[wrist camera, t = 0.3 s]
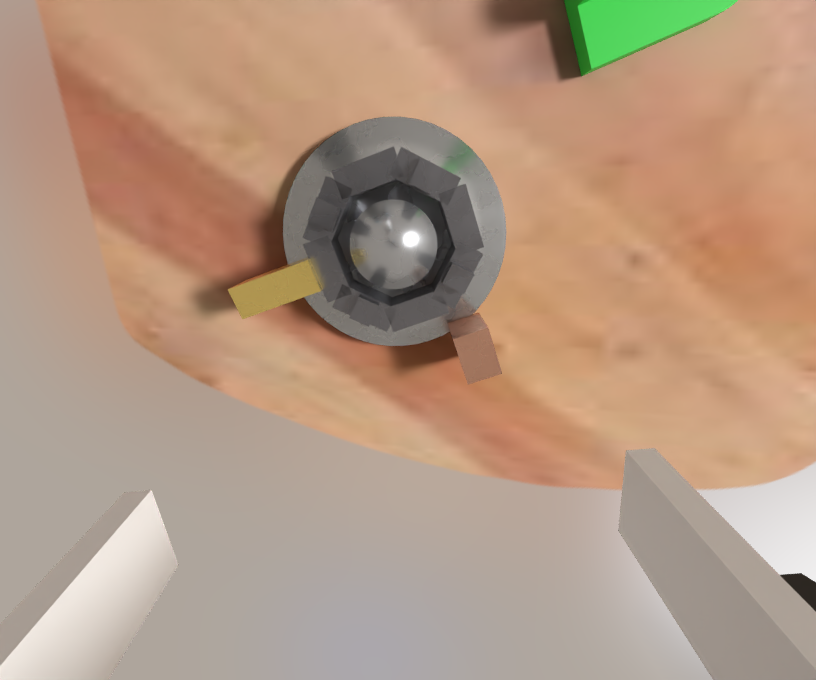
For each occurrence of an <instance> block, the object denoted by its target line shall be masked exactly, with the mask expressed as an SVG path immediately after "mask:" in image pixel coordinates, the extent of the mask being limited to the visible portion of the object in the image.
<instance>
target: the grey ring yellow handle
mask: <svg viewBox="0 0 816 680" xmlns="http://www.w3.org/2000/svg"><path fill="white" fill-rule="evenodd" d="M331 172H332V174H333V177H334V178H331V177H328V176H326V177H325V180H324V183H323V185H322V188H321V190H320V193H319V196H318V197H316V200H315V202H314V205H313V208H312V210H311V213H310V215H309V218H308V220H309V222H308V224H307V227H306V229H305V232H304V235H303V237H302V238H304V239H306V240H309V241H310V242H307V243H305V244H303V247H304V249H305V251H306V254H307V256H308V257H307V258H304V259H302V260H299V261H296V262H293V263H291V264H288V265H285V266H283V267H280V268H277V269H274V270H272V271H269V272H266V273H264V274H261V275H258V276H256V277H253V278H250V279H247V280H245V281H243V282H241V283H239V284H238V285H236V286H234V287H232V288H230V289H228V292H229V293H230V295H231V297H232V299H233V301H234V303H235V305H236V307H237V309H238V311H239V313H240V315H241V317H242V319H245V318H247V317H250V316H253V315H256V314H259V313H261V312H264V311H267V310H270V309H272V308H275V307H278V306H281V305H284V304H286V303H289V302H292V301H295V300H298V299H300V298H303V297H306V296H309V295H311V294H314V293H317V292H320V291H321V290H322V291H323V293H324V296H325V298H326V300H327V303H328V302H331V301H334V300H335V302H334V304H333V307H332V308H334V309H337V310H339V311H341V312H343V313H346V314H348V315H350V317H349V318H350V319H352V320H355V321H357V322H359V323H361V324H364V325H366V326H368V327H369V325H372V326H375V327H377V328H379V329H381V330H384V331H386V332H387V331H388V329H389V327H390V325H391V328H392V330H393V332H396V331H399V330H401V329H404V328H407V327H410V326H413V325H416V324H419V323H422V322H425V321H428V320H431V319H434V318H437V317H440V316H443V315H446V314H448V313H449V310H448V307H447V306H449V307H451V308H453V309H455V307H456V305H457V303H458V301H459V299H460V298H461V296H462V294H464V293H465V291H466V290H467V288H468V286H469V284H470V282H471V280H472V278H473V276H474V271H475V269H476V267H477V265H478V263H479V261H480V260H481V258H482V256H483V253H481V252H480V251H478V250H477V249H480V248H483V247H484V245H483V242H482V238H481V235H480V231H479V228H478V224H477V221H476V217H475V214H474V210H473V207H472V204H471V200H470V197H469V193H468V190H467V186H466V184H463V185H459V186H458V184H459V182H460V179H461V178H460V177H458V176H457V175H455V174H453V173H451V172H449V171H447V170H445V169H443V168H441V167H439V166H437V165H435V164H434V163H432V162H430V161H428V160H426V159H424V158H422V157H420V156H418V155H416V154H414V153H412V152H411V151H409V150H407V149H405V148H403V147H401V148H400V151H399V153H398V155H397V154H396V151H395V148H394V146H393V147H391V148H388V149H386V150H383V151H380V152H378V153H375V154H373V155H370V156H368V157H365V158H363V159H360V160H357V161H355V162H352V163H350V164H347V165H345V166H342V167H339V168H337V169H334V170H332V171H331ZM396 181H398V182H400V183H402V184H404V185H406V186H408V187H410V188H412V189H414V190H416V191H418V192H420V193H422V194H424V195H426V196H428V197H430V198H432V199H434V200H436V201H438V204H439V207H440V211H441V214H442V217H443V220H444V223H445V227H446V230H447V233H448V236H449V239H450V242H451V246H450V248H449V250H448V252H447V254H446V256H445V258H444V260H443V262H442V264H441V266H440V268H439V270H438V272H437V274H436V276H435V278H434V280H433V282H432V283H431V284H428V285H425V286H423V287H420V288H417V289H414V290H411V291H408V292H406V293H403V294H400V295H397V296H394V297H391V296H389V295H387V294H385V293H382V292H380V291H378V290H376V289H374V288H372V287H369V286H367V285H365V284H363V283H361V282H359V281H357V280H354V278H353V275H352V273H351V270H350V268H349V265H348V263H347V260H346V258H345V255H344V253H343V250H342V248H341V245H340V243H339V240H338V237H339V235H340V232H341V230H342V227H343V225H344V222H345V220H346V218H347V215H348V213H349V210H350V208H351V205H352V203H353V201H354V198H355V197H356V196H359V195H362V194H364V193H367V192H370V191H372V190H375V189H377V188H380V187H383V186H385V185H388V184H391V183H393V182H396Z"/></svg>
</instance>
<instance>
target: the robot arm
mask: <svg viewBox="0 0 816 680" xmlns="http://www.w3.org/2000/svg"><path fill="white" fill-rule="evenodd" d="M618 531H619V532H620V534H621V536H622V537H623V539H624V540H625V542H626V543H627V545H628V547H629V548H630V550H631V551H632V553H633V554H634V556H635V558H636V559H637V561H638V562H639V564H640V565H641V567H642V568H643V570H644V572H645V573H646V575H647V576H648V578H649V580H650V581H651V582H652V584H653V586H654V587H655V589H656V591H657V592H658V594H659V595H660V597H661V598H662V600H663V602H664V603H665V605H666V606H667V608H668V609H669V611H670V612H671V614H672V615H673V617H674V619H675V620H676V622H677V624H678V625H679V627H680V628H681V630H682V631H683V633H684V634H685V636H686V638H687V639H688V641H689V642H690V644H691V645H692V647H693V649H694V650H695V652H696V653H697V655H698V656H699V658H700V660H701V661H702V663H703V664H704V666H705V668H706V669H707V671H708V672H709V674H710V675H711V677H712V679H713V680H816V582H814V581H813V580H811V579H809V578H808V577H806V576H805V575H803V574H802V573H799V574H785V575H779V574H778V573H777V572H776V571H775V570H774V569H773V568H772V567H771V566H770V565H769V564H768V563H767V562H766V561H765V560H764V559H763V558H762V557H761V556H760V555H759V554H758V553H757V552H756V551H755V550H754V549H753V548H752V547H751V546H750V545H749V544H748V543H747V542H746V541H745V539H743V537H741V535H739V533H738V532H737V531H735V530H734V528H732V526H731V525H729V523H728V522H727V521H726V520H725V519H724V518H723V517H722V516H721V515H720V514H719V513H718V512H717V511H716V510H715V509H714V508H713V507H712V506H711V505H710V504H709V503H708V502H707V501H706V500H705V499H704V498H703V497H702V496H701V495H700V494H699V493H698V492H697V491H696V490H695V489H694V488H693V487H692V486H691V485H690V484H689V483H688V482H687V481H686V480H685V479H684V478H683V477H682V476H681V475H680V474H679V473H678V472H677V471H676V470H675V469H674V468H673V466H672V465H671V464H670V463H669V462H668V461H667V460H666V459H665V458H664V457H663V456H662V455H661V454H660V453H659V452H658V451H657V450H656V449H655V448H651V449H639V450H627V451H626V456H625V466H624V477H623V487H622V497H621V509H620V519H619V530H618ZM177 567H178V562H177V559H176V556H175V554H174V551H173V548H172V545H171V543H170V540H169V537H168V535H167V532H166V529H165V526H164V523H163V521H162V518H161V515H160V512H159V510H158V507H157V504H156V501H155V499H154V496H153V493H152V490H145V491H134V492H124V493H123V494H122V495H121V496H120V497H119V499H118V500H117V501H116V502H115V503H114V504H113V505H112V506H111V507H110V508H109V509H108V510H107V511H106V512H105V513H104V515H102V517H101V518H100V519H99V520H98V521H97V522H96V523H95V524H94V525H93V526H92V527H91V528H90V529H89V530H88V531H87V532H86V534H85V535H84V536H83V537H82V538H81V539H80V540H79V541H78V542H77V543H76V544H75V545H74V546H73V547H72V548H71V549H70V551H69V552H68V553H67V554H66V555H65V556H64V557H63V558H62V559H61V560H60V561H59V562H58V563H57V564H56V565H55V566H54V568H52V570H51V571H50V572H49V573H48V574H47V575H46V576H45V577H44V578H43V579H42V580H41V581H40V582H39V583H38V585H36V586H35V588H34V589H33V590H32V591H31V592H30V593H29V594H28V595H27V596H26V597H25V598H24V599H23V600H22V601H21V602H20V603H19V604H18V606H17V607H16V608H15V609H14V610H13V611H12V612H11V613H10V614H9V615H8V616H7V617H6V618H5V619H4V620H3V621H2V622H1V624H0V680H109V678H110V677H111V675H112V673H113V672H114V670H115V668H116V667H117V665H118V663H119V662H120V660H121V658H122V657H123V655H124V654H125V652H126V650H127V649H128V647H129V645H130V644H131V642H132V641H133V639H134V637H135V636H136V634H137V632H138V631H139V629H140V627H141V626H142V624H143V623H144V621H145V619H146V617H147V616H148V614H149V613H150V611H151V610H152V608H153V606H154V605H155V603H156V601H157V600H158V598H159V596H160V594H161V593H162V591H163V590H164V588H165V587H166V585H167V583H168V582H169V580H170V578H171V577H172V575H173V573H174V572H175V570H176V569H177Z"/></svg>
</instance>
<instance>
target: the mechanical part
mask: <svg viewBox="0 0 816 680" xmlns="http://www.w3.org/2000/svg"><path fill="white" fill-rule="evenodd" d="M737 1H738V0H564V2H565V7H566V11H567V15H568V20H569V24H570V28H571V33H572V37H573V41H574V46H575V50H576V54H577V59H578V63H579V67H580V72H581V76H583V75H586V74H588V73H590V72H592V71H595V70H597V69H599V68H602V67H604V66H606V65H608V64H611V63H613V62H615V61H617V60H620V59H622V58H624V57H627V56H629V55H631V54H633V53H636V52H638V51H640V50H643V49H645V48H647V47H649V46H652V45H654V44H656V43H658V42H661V41H663V40H665V39H668V38H670V37H672V36H674V35H677V34H679V33H681V32H684V31H686V30H688V29H690V28H693V27H695V26H697V25H699V24H702V23H704V22H706V21H708V20H709V19H711V18H713V17H714V16H716V15H718V14H719V13H721V12H723V11H724V10H726V9H728V8H729V7H731V6H732V5H733V4H734V3H735V2H737Z"/></svg>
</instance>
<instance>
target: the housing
mask: <svg viewBox="0 0 816 680" xmlns="http://www.w3.org/2000/svg"><path fill="white" fill-rule="evenodd" d="M393 146H394V148H395V151H396V154H397V155H398V153H399V151H400V148H401V147H403V148H405V149H407V150H409V151H411V152H412V153H414V154H416V155H418V156H420V157H422V158H424V159H426V160H428V161H430V162H432V163H434V164H435V165H437V166H439V167H441V168H443V169H445V170H447V171H449V172H451V173H453V174H455V175H457V176H458V177H460V178H461V179H460V182H459V184H458V186H459V185H463V184H466V186H467V190H468V193H469V197H470V200H471V204H472V207H473V210H474V214H475V217H476V221H477V224H478V228H479V231H480V235H481V238H482V242H483V245H484V247H483V248H480V249H477V250H478V251H480V252H481V253H483V256H482V258H481V260H480V261H479V263H478V265H477V267H476V269H475V271H474V276H473V278H472V280H471V282H470V284H469V286H468V288H467V290H466V291H465V293H464V294H462V296H461V298H460V299H459V301H458V303H457V305H456V307H455V309H453V308H451V307H449V306H447V307H448V310H449V313H448V314H446V315H443V316H440V317H437V318H434V319H431V320H428V321H425V322H422V323H419V324H416V325H413V326H410V327H407V328H404V329H401V330H399V331H396V332H393V330H392V328H391V325H390V327H389V329H388V331H387V332H386V331H384V330H381V329H379V328H377V327H375V326H372V325H369V327H368V326H366V325H364V324H361V323H359V322H357V321H355V320H352V319H350V318H349V317H350V315H348V314H346V313H343V312H341V311H339V310H337V309H334V308H332V307H333V304H334V302H335V300H334V301H331V302H328V303H327V300H326V298H325V296H324V293H323V291H322V290H321V291H320V292H317V293H314V294H311V295H309V296H306V297H304V298H305V299H306V301H307V302H308V303H309V305H310V306H311V307H312V308H313V309H314V310H315V311H316V312H317V314H319V315H320V316H321V317H322V318H323V319H324V320H325V321H327V322H328V323H329V324H331V325H332V326H334V327H335V328H336V329H338V330H339V331H341V332H343V333H345V334H347V335H349V336H351V337H354V338H356V339H359V340H362V341H365V342H369V343H373V344H378V345H387V346H405V345H413V344H419V343H422V342H426V341H430V340H432V339H435V338H437V337H440V336H442V335H444V334H446V333H448V332H449V331H450V333H451V336H452V339H453V341H454V344H455V347H456V350H457V353H458V356H459V359H460V362H461V365H462V368H463V371H464V374H465V377H466V380H467V383H468V384H471V383H474V382H477V381H480V380H484V379H487V378H490V377H493V376H496V375H499V374H502V371H501V368H500V365H499V362H498V358H497V355H496V352H495V348H494V345H493V342H492V339H491V335H490V332H489V329H488V327H487V325H486V324H485V322H484V320H483V319H482V317H481V316H480V314H479V313H476V314H473V313H474V312H475V311H476V310H477V309H478V308H479V306H480V305H481V304H482V303H483V301H484V300H485V299H486V297H487V295H488V294H489V292H490V291H491V289H492V287H493V285H494V283H495V281H496V279H497V277H498V274H499V271H500V268H501V265H502V262H503V257H504V251H505V244H506V221H505V213H504V208H503V203H502V200H501V197H500V194H499V191H498V188H497V186H496V184H495V182H494V180H493V178H492V176H491V174H490V172H489V171H488V169H487V168H486V166H485V165H484V163H483V162H482V160H481V159H480V158H479V157H478V156H477V155H476V153H475V152H474V151H473V150H472V149H471V148H470V147H469V146H468V145H466V144H465V143H464V142H463V141H462V140H460V139H459V138H458V137H456V136H455V135H453V134H452V133H450V132H448V131H447V130H445V129H443V128H441V127H438V126H436V125H434V124H432V123H429V122H425V121H422V120H418V119H413V118H406V117H381V118H374V119H368V120H365V121H362V122H359V123H356V124H353V125H351V126H349V127H347V128H345V129H342V130H340V131H338V132H337V133H336V134H334V135H333V136H331V137H330V138H328V139H327V140H325V141H324V142H323V143H322V144H321V145H320V146H319V147H318V148H317V149H316V150H314V152H313V153H312V154H311V155H310V156H309V158H308V159H307V160H306V161H305V163H304V164H303V166H302V167H301V169H300V171H299V172H298V174H297V175H296V177H295V180H294V182H293V184H292V187H291V189H290V191H289V195H288V198H287V202H286V206H285V212H284V219H283V240H284V249H285V254H286V258H287V262H288V264H291V263H293V262H296V261H299V260H302V259H304V258H307V257H308V256H307V254H306V251H305V249H304V247H303V244H305V243H307V242H310V241H309V240H306V239H304V238H302V237H303V235H304V232H305V229H306V227H307V224H308V222H309V220H308V218H309V215H310V213H311V210H312V208H313V205H314V202H315V200H316V197H318V196H319V193H320V190H321V188H322V185H323V183H324V180H325V177H326V176H328V177H331V178H334V177H333V174H332V172H331V171H332V170H334V169H337V168H339V167H342V166H345V165H347V164H350V163H352V162H355V161H357V160H360V159H363V158H365V157H368V156H370V155H373V154H375V153H378V152H380V151H383V150H386V149H388V148H391V147H393ZM338 240H339V243H340V245H341V248H342V250H343V253H344V255H345V258H346V260H347V263H348V265H349V268H350V270H351V273H352V275H353V278H354V280H357V281H359V282H361V283H363V284H365V285H367V286H369V287H372V288H374V289H376V290H378V291H380V292H382V293H385V294H387V295H389V296H391V297H394V296H397V295H400V294H403V293H406V292H408V291H411V290H414V289H417V288H420V287H423V286H425V285H428V284H431V283H432V282H433V280H434V278H435V276H436V274H437V272H438V270H439V268H440V266H441V264H442V262H443V260H444V258H445V256H446V254H447V252H448V250H449V248H450V246H451V242H450V239H449V236H448V233H447V230H446V227H445V223H444V220H443V217H442V214H441V211H440V207H439V204H438V201H436V200H434V199H432V198H430V197H428V196H426V195H424V194H422V193H420V192H418V191H416V190H414V189H412V188H410V187H408V186H406V185H404V184H402V183H400V182H398V181H396V182H393V183H391V184H388V185H385V186H383V187H380V188H377V189H375V190H372V191H370V192H367V193H364V194H362V195H359V196H356V197H355V198H354V201H353V203H352V205H351V208H350V210H349V213H348V215H347V218H346V220H345V222H344V225H343V227H342V230H341V232H340V235H339V237H338ZM472 314H473V315H472Z"/></svg>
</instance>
